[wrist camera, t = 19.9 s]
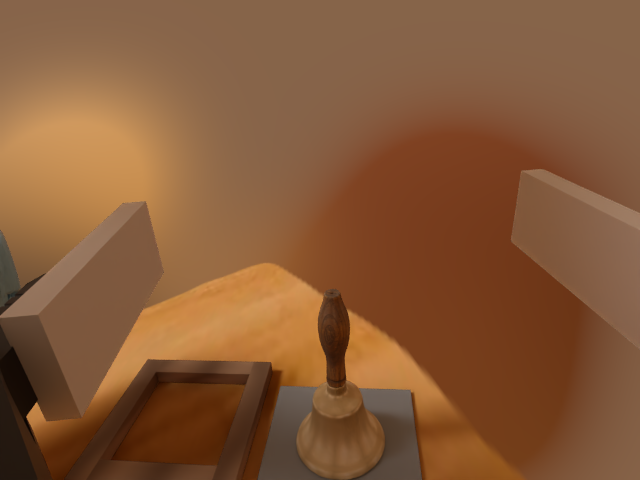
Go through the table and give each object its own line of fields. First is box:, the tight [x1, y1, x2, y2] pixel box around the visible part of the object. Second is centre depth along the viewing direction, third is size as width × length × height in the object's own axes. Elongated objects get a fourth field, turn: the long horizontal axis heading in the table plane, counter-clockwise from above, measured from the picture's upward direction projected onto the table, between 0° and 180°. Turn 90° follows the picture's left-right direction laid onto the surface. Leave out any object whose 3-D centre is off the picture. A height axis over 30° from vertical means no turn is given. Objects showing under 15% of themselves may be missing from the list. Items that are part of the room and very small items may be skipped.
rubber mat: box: [257, 386, 422, 480], centre depth 38 cm, size 14×14×1 cm
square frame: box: [64, 359, 272, 480], centre depth 41 cm, size 15×15×2 cm
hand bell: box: [296, 289, 385, 480], centre depth 35 cm, size 8×8×16 cm
